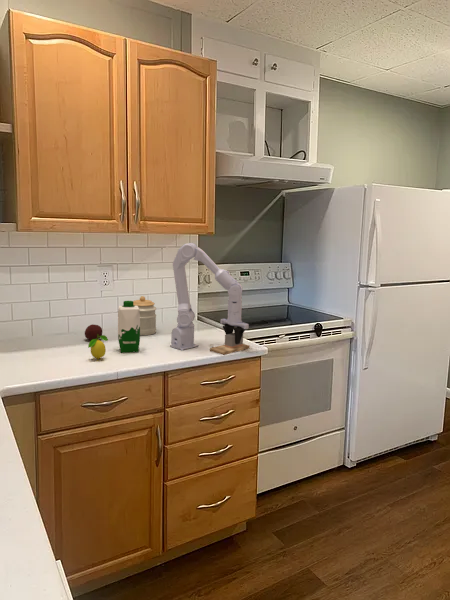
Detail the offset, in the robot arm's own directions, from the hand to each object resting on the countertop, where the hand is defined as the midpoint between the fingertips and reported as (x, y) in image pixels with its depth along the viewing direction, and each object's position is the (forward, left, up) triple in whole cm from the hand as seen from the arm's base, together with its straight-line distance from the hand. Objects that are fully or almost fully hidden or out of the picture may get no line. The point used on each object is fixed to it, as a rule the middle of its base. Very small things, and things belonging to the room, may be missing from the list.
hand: (233, 342), depth 199 cm
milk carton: (-35, +26, -3) cm, 44 cm away
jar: (-12, +48, -3) cm, 50 cm away
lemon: (-51, +23, -3) cm, 56 cm away
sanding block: (0, 0, -1) cm, 1 cm away
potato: (-37, +50, -3) cm, 62 cm away
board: (-2, 0, -3) cm, 3 cm away
